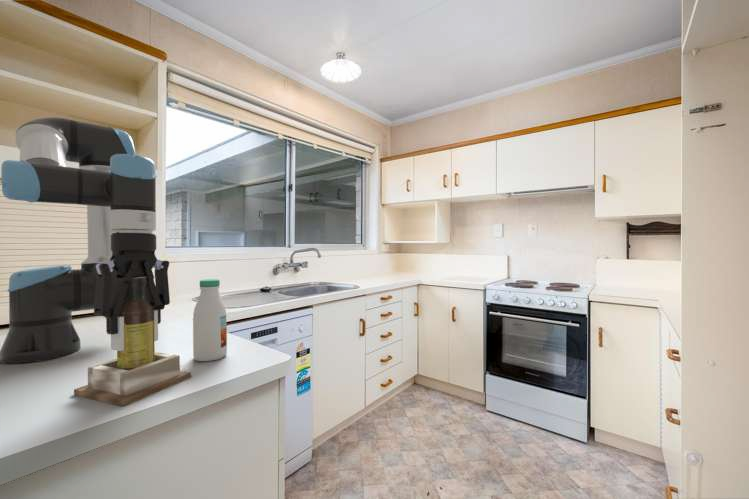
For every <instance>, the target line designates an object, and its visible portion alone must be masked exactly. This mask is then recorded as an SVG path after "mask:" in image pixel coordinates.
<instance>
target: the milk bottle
mask: <svg viewBox="0 0 749 499" xmlns="http://www.w3.org/2000/svg"><path fill="white" fill-rule="evenodd" d="M220 284H221V283H220V279H215V278H214V279H212V278H211V279H201V280H199V290H200V294H199V297H198V299H197V302H196V303H195V307H194V309H193V317H192V340H193V341H192V345H193V346H192V347H193V350H192V352H193V353H192V354H193V359H194V361H197V362H212V361H216V360H219V359H222V358H224V357H226V355H227V353H228V352H227V351H228V340H227V339H228V337H227V336H228V335H227V334H228V333H227V330H228V329H227V328H228V327H227V325H228V324H227V310H226V305H225V303H224V301H223V299H222V298H221V295H220V294H221V293H220V290H219V289H220V287H221V286H220Z"/></svg>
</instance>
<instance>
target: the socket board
mask: <svg viewBox="0 0 749 499" xmlns="http://www.w3.org/2000/svg"><path fill="white" fill-rule="evenodd" d="M180 356H181V355H178V354H170V353H166V352H158V351H155V361H154V362H152V363H149V364H146V365H143V366H140V367H137V368H134V369H132V370H123V369H119V367H117V357H116V358H114V359H111V360H107V361H103V362H99V363H97V364H93V365H90V366H88V367H87V384H86V385H83V386H80V387H77V388H74V390H73V395H74V396H78V397H82V398H87V399H90V400H95V401H99V402H102V403H107V404H111V405H115V406H119V407H125V406H127V405H130V404H132V403H134V402H137V401H139V400H141V399H143V398H146V397H148V396H151V395H153V394H155V393H157V392H159V391H160V392H161V390H164V389H166V388H169V387H172V386H174V385H176V384H178V383H181V382H183V381H185V380H187V379H190V378H192V372H191V371H185V370H181V368H180V367H181V365H180V361H181V360H180V359H181V357H180Z"/></svg>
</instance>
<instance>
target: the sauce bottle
mask: <svg viewBox="0 0 749 499" xmlns="http://www.w3.org/2000/svg"><path fill="white" fill-rule="evenodd" d="M146 284H147V277H135V278H133V279H132V282H131V283H129V286H128V289H127V292H126V295H125V299H124V302H123V305H122V308H121V311H120V314H119V316H122V317H124V350H122V351H117V350H116V358H117V367H119V369H123V370H132V369H134V368H137V367H140V366H143V365H146V364H149V363H152V362H154V361H155V352H156V351H155V350H156V349H155V341H154V319H153V307H152V306H151V304H150V303H149V302H148V300H147V299H146V298H147V295H146Z"/></svg>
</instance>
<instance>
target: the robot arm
mask: <svg viewBox="0 0 749 499" xmlns="http://www.w3.org/2000/svg"><path fill="white" fill-rule="evenodd" d="M14 140H15V144H16V146H17V148H18V149H19V159H18V160H13V159H9V160H7V159H6V160H4V161H3V162H1V163H2V164H1V170H0V172H1V180H0V181H1V192H2V195H3V197H5V198H6V199H9V200H11V201H21V202H23V201H24V202H28V203H43V204H46V203H48V204H62V205H63V204H64V205H78V206H79V205H81V206H86V218H87V219H86V221H87V225H86V226H87V228H86V229H87V258H85V259H84V260H83V261H82V262H81V263H80V268H79V269H72V267H71V265H70V264H63V265H55V266H54V265H53V266H44V267H37V268H30V269H24V270H18V271H16V272H14V273H12V274H11V275H9V278H8V279H9V280H8V281H9V282H8V289H7V293H8V299H9V300H8V301H9V302H8V304H9V306H8V307H9V309H8V312H9V314H8V317H9V320H8V321H9V324H8V325H9V326H8V327H9V328H8V332H7V335H6V337H5V339H4V342H3V343H2V346H1V348H0V363H2V364H6V365H7V364H10V365H11V364H13V365H15V364H25V363H27V364H28V363H35V362H41V361H46V360H50V359H55V358H59V357H65V356H67V355H70V354H74V353H75V352H77V351H80V350H81V338H80V337H79V334H78V332H77V330H76V328H75V326H74V324H73V320H72V313H73V312H80V311H90V310H93V314H94V315H95V316H99V317H104V318H105V320H106V322H105V323H106V325H105V326H106V329H105V330H106V331H105V332H106V333H107V335H110V349H111V351H116V352H117V351H122V350H124V317H122V316H119V314H120V311H121V308H122V305H123V302H124V299H125V295H126V292H127V289H128V286H129V283H131V282H132V279H133V278H135V277H147V284H146V295H147V298H146V299H147V300H148V302H149V303H150V304H151V306H152V307H153V319H154V342H156V341H159V325H160V324H161V321H162V320H161V316H162V315H161V314H162V312H161V311H163V310H164V309H165V306H168V305H169V304H170V303H171V300H170V289H169V287H170V286H169V274H168V271H169V266H170V261H169V260H162V259H158V258H157V256H156V254H155V253H156V250H157V235H156V233H153V232H155V231H157V214H156V213H157V212H156V211H157V210H156V209H157V208H156V204H157V203H156V202H157V201H156V200H157V199H156V191H157V190H156V185H157V184H156V180H157V174H156V165H155V162H154V161H153V160H152V159H151V158H148V157H145V156H143V155H142V156H141V155H137V154H136V150H135V146H134V141H133V138H132V137H131V135H130V134H129V133H128V132H126V131H124V130H123V129H122V130H121V129H118V128H114V127H112V126H103V125H99V124H95V123H94V124H93V123H88V122H84V121H79V120H73V119H69V118H66V117H65V118H63V117H42V118H41V117H40V118H36V119H33V120H29V121H27V122H25V123H23V124H21V126H19V127H18V129H17V131H16V133H15V138H14ZM67 162H69V163H70V162H71V163H78V167H69V166H68V163H67ZM153 269H154V272H153Z"/></svg>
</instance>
